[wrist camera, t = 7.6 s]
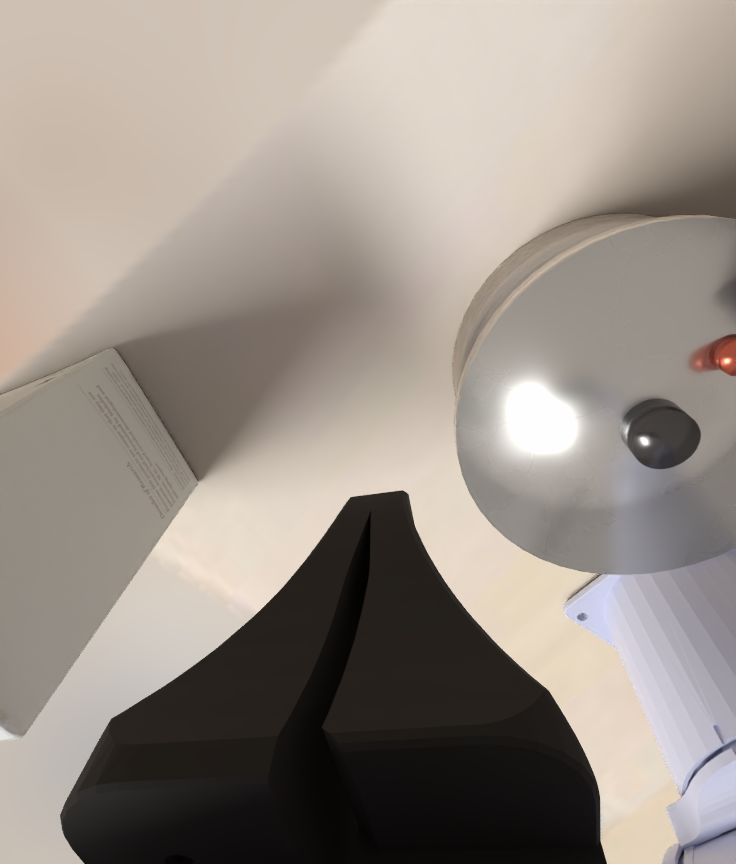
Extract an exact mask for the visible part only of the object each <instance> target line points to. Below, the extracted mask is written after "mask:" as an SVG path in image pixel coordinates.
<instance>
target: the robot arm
mask: <svg viewBox="0 0 736 864" xmlns="http://www.w3.org/2000/svg"><path fill="white" fill-rule="evenodd" d="M563 610H564V613H565V615H566V616H567V617H568V618H569V619H571V620H573V621H574V622H576V623H577V624H579V625H580V626H582V627H583V628H585V629H587V630H588V631H590V632H591V633H593V634H594V635H596V636H597V637H599V638H601V639H602V640H604V641H605V642H607V643H608V644H610V645H611V646H613V647H615V648H616V649H617V651H618V654H619V656H620V658H621V661H622V663H623V665H624V668H625V670H626V672H627V674H628V677H629V679H630V681H631V684H632V686H633V688H634V691H635V693H636V695H637V698H638V700H639V702H640V705H641V707H642V709H643V712H644V714H645V716H646V719H647V721H648V723H649V726H650V728H651V730H652V733H653V735H654V737H655V739H656V742H657V744H658V746H659V749H660V751H661V753H662V756H663V758H664V760H665V763H666V765H667V767H668V770H669V772H670V774H671V777H672V779H673V781H674V784H675V786H676V788H677V791H678V793H679V795H680V799H679V800H678V801H677V802H675V803H673V804H672V805H670V806H668V807H667V808H666V811H667V813H668V816H669V818H670V821H671V824H672V826H673V829H674V831H675V834H676V836H677V839H678V841H679V843H677V844H675V845H673V846H671V847H669V848H668V850H667V851H666V853H665V854H664V858H663V863H662V864H736V548H735V549H733V550H731V551H728V552H726V553H724V554H722V555H719V556H717V557H714V558H711V559H708V560H705V561H702V562H699V563H697V564H693V565H689V566H685V567H681V568H677V569H673V570H668V571H662V572H655V573H649V574H633V575H611V574H602V575H600V576H599V577H598V578H596V579H595V580H594V581H593V582H591V583H590V584H589V585H587V586H586V587H585V588H584V589H582V590H581V591H580V592H578V593H577V594H576V595H575V596H573V597H572V598H571V599H570V600H568V601H567V602H566V603H565V604H564V606H563ZM581 613H584V614H582V615H579V614H581ZM60 817H61V824H62V830H63V833H64V836H65V838H66V839H67V841H68V843H69V844H70V846H71V848H72V849H73V850H74V852H75V853H76V854H77V855H78V856H79V857H80V859H81V860H82V861H83V862H84V864H607V862H606V859H605V855H604V852H603V848H602V845H601V841H600V795H599V789H598V785H597V781H596V778H595V776H594V773H593V771H592V768H591V766H590V764H589V761H588V759H587V757H586V755H585V753H584V750H583V748H582V746H581V745H580V743H579V741H578V739H577V737H576V735H575V733H574V732H573V730H572V728H571V726H570V725H569V723H568V721H567V720H566V718H565V716H564V715H563V713H562V711H561V710H560V708H559V706H558V705H557V703H556V702H555V700H554V698H553V697H552V695H551V694H550V692H549V691H548V690H547V689H546V688H545V687H544V686H542V685H541V684H540V683H539V682H538V681H536V680H535V679H534V678H533V677H532V676H530V675H529V674H528V673H527V672H526V671H525V670H524V669H523V668H521V667H520V666H519V665H518V664H517V663H516V662H515V661H514V660H513V659H512V658H511V657H509V656H508V655H507V654H506V653H505V652H504V651H503V650H502V649H501V648H500V647H499V646H498V645H497V644H496V643H495V642H494V641H493V640H492V639H491V637H490V636H489V635H488V634H487V633H486V632H485V631H484V630H483V629H482V628H481V626H480V625H479V624H478V623H477V622H476V621H475V620H474V619H473V618H472V616H471V615H470V614H469V613H468V612H467V611H466V609H465V608H464V607H463V605H462V604H461V603H460V602H459V600H458V599H457V598H456V596H455V595H454V594H453V592H452V591H451V589H450V588H449V587H448V585H447V584H446V582H445V581H444V579H443V578H442V576H441V575H440V573H439V572H438V570H437V568H436V567H435V565H434V563H433V562H432V560H431V558H430V556H429V555H428V553H427V551H426V549H425V547H424V545H423V543H422V541H421V539H420V537H419V534H418V532H417V530H416V528H415V525H414V520H413V515H412V510H411V505H410V500H409V495H408V494H407V493H406V492H404V491H403V490H402V491H395V492H387V493H379V494H372V495H364V496H356V497H350V499H349V500H348V501H347V503H346V504H345V505H344V507H343V508H342V510H341V511H340V513H339V514H338V516H337V517H336V519H335V520H334V522H333V523H332V525H331V526H330V528H329V529H328V530H327V532H326V533H325V535H324V536H323V537H322V539H321V540H320V542H319V543H318V544H317V546H316V547H315V548H314V550H313V551H312V552H311V554H310V555H309V556H308V558H307V559H306V560H305V562H304V563H303V564H302V565H301V566H300V568H299V569H298V570H297V571H296V572H295V574H294V575H293V576H292V577H291V579H290V580H289V581H288V582H287V583H286V584H285V586H284V587H283V588H282V589H281V590H280V591H279V592H278V593H277V594H276V595H275V596H274V597H273V598H272V599H271V600H270V601H269V602H268V603H267V604H266V605H265V606H264V607H263V608H262V609H261V610H260V611H259V612H258V613H257V614H256V615H255V616H254V617H253V618H252V619H250V620H249V621H248V622H247V623H246V624H245V625H244V626H242V627H241V628H240V629H239V630H238V631H237V632H235V633H234V634H233V635H232V636H231V637H230V638H229V639H227V640H226V641H225V642H224V643H223V644H222V645H220V646H219V647H218V648H216V649H215V650H214V651H213V652H211V653H210V654H209V655H207V656H206V657H205V658H203V659H202V660H201V661H199V662H198V663H197V664H196V665H194V666H193V667H191V668H190V669H188V670H187V671H186V672H184V673H183V674H181V675H180V676H179V677H177V678H176V679H174V680H173V681H171V682H170V683H168V684H167V685H166V686H164V687H162V688H161V689H159V690H157V691H156V692H154V693H153V694H151V695H149V696H148V697H146V698H145V699H143V700H141V701H140V702H138V703H137V704H135V705H134V706H132V707H130V708H129V709H127V710H126V711H124V712H122V713H121V714H119V715H117V716H116V717H114V718H112V719H111V720H110V722H109V724H108V726H107V727H106V729H105V731H104V732H103V734H102V736H101V738H100V739H99V741H98V743H97V745H96V747H95V748H94V751H93V752H92V754H91V756H90V758H89V760H88V761H87V763H86V765H85V767H84V769H83V771H82V772H81V774H80V776H79V778H78V780H77V782H76V784H75V786H74V788H73V789H72V791H71V793H70V795H69V797H68V798H67V800H66V802H65V804H64V807H63V810H62V812H61V815H60Z"/></svg>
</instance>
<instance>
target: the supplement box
mask: <svg viewBox="0 0 736 864" xmlns="http://www.w3.org/2000/svg"><path fill="white" fill-rule="evenodd" d="M197 485H198V481H197V479H196V478H195V476H194V474H193V472H192V471H191V469H190V468H189V466H188V464H187V462H186V461H185V459H184V458H183V456H182V454H181V453H180V451H179V450H178V448H177V446H176V445H175V443H174V442H173V440H172V438H171V436H170V435H169V433H168V432H167V430H166V428H165V427H164V425H163V424H162V422H161V420H160V419H159V417H158V415H157V414H156V412H155V410H154V409H153V407H152V406H151V404H150V402H149V401H148V399H147V398H146V396H145V394H144V393H143V391H142V389H141V388H140V386H139V385H138V383H137V382H136V380H135V379H134V377H133V375H132V374H131V372H130V370H129V369H128V367H127V366H126V364H125V362H124V361H123V360H122V358H121V357H120V355H119V354H118V352H117V351H116V350H115V349H113V348H108V349H106V350H104V351H102V352H100V353H98V354H96V355H94V356H92V357H90V358H87V359H85V360H83V361H81V362H79V363H76V364H74V365H72V366H70V367H67V368H65V369H63V370H60V371H58V372H56V373H53V374H51V375H48V376H46V377H43V378H41V379H39V380H36V381H34V382H31V383H29V384H26V385H24V386H22V387H19V388H17V389H14V390H12V391H9V392H6V393H4V394H1V395H0V742H3V741H8V740H15V739H20V738H22V737H23V736H24V735H25V734H26V732H27V731H28V729H29V728H30V727H31V725H32V724H33V722H34V721H35V719H36V718H37V717H38V715H39V713H40V712H41V711H42V709H43V708H44V706H45V705H46V703H47V702H48V700H49V699H50V697H51V696H52V695H53V693H54V692H55V690H56V689H57V687H58V686H59V685H60V683H61V682H62V680H63V679H64V677H65V676H66V674H67V673H68V671H69V669H70V668H71V667H72V666H73V664H74V663H75V661H76V660H77V658H78V657H79V655H80V654H81V652H82V651H83V650H84V648H85V647H86V645H87V644H88V642H89V641H90V640H91V638H92V637H93V635H94V634H95V632H96V631H97V629H98V628H99V626H100V625H101V623H102V622H103V621H104V619H105V618H106V616H107V615H108V613H109V612H110V610H111V609H112V607H113V606H114V605H115V603H116V602H117V600H118V599H119V597H120V596H121V594H122V593H123V591H124V590H125V589H126V587H127V586H128V584H129V583H130V581H131V580H132V579H133V577H134V576H135V574H136V573H137V571H138V570H139V569H140V567H141V566H142V564H143V562H144V561H145V560H146V558H147V557H148V555H149V554H150V552H151V551H152V550H153V548H154V547H155V545H156V544H157V542H158V541H159V539H160V538H161V536H162V535H163V533H164V532H165V531H166V529H167V528H168V526H169V525H170V523H171V522H172V520H173V519H174V518H175V516H176V515H177V514H178V512H179V510H180V509H181V508H182V506H183V505H184V503H185V501H186V500H187V499H188V497H189V496H190V494H191V493H192V491H193V490H194V488H195V487H196V486H197Z"/></svg>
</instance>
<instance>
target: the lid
mask: <svg viewBox="0 0 736 864" xmlns="http://www.w3.org/2000/svg"><path fill="white" fill-rule="evenodd" d="M454 430H455V442H456V449H457V455H458V459H459V463H460V467H461V471H462V475H463V478H464V480H465V483H466V485H467V488H468V490H469V493H470V495H471V496H472V498H473V500H474V501H475V503H476V505H477V506H478V508H479V510H480V511H481V512H482V513H483V515H484V516H485V517H486V518H487V519H488V521H489V522H490V523H491V524H492V525H493V526H494V527H495V528H496V529H497V530H498V531H499V532H500V533H501V534H502V535H504V536H505V537H506V538H507V539H508V540H510V541H511V542H513V543H514V544H516V545H517V546H518V547H520V548H521V549H523V550H525V551H527V552H528V553H530V554H532V555H534V556H536V557H538V558H540V559H542V560H545V561H548V562H551V563H553V564H556V565H559V566H562V567H566V568H570V569H574V570H578V571H583V572H590V573H597V574H611V575H633V574H649V573H655V572H662V571H668V570H673V569H677V568H681V567H685V566H689V565H693V564H697V563H699V562H702V561H705V560H708V559H711V558H714V557H717V556H719V555H722V554H724V553H726V552H728V551H731V550H733V549H735V548H736V219H733V218H725V217H717V216H709V215H673V216H666V217H660V218H653V219H646V220H641V221H638V222H634V223H631V224H627V225H623V226H620V227H616V228H613V229H611V230H608V231H606V232H603V233H601V234H598V235H596V236H593V237H591V238H588V239H586V240H584V241H582V242H580V243H579V244H577V245H575V246H573V247H571V248H570V249H568V250H566V251H564V252H562V253H561V254H559V255H557V256H556V257H554V258H553V259H552V260H550V261H549V262H547V263H546V264H545V265H543V266H542V267H540V268H539V269H538V270H536V271H535V272H534V273H533V274H531V275H530V276H529V277H528V278H527V279H526V280H525V281H524V282H523V283H521V284H520V285H519V286H518V287H517V288H516V289H515V290H514V291H513V292H512V293H511V294H510V295H509V296H508V297H507V298H506V300H505V301H504V302H503V303H502V304H501V305H500V306H499V308H498V309H497V310H496V311H495V312H494V314H493V315H492V317H491V318H490V320H489V321H488V322H487V324H486V325H485V327H484V328H483V330H482V331H481V333H480V334H479V336H478V338H477V340H476V342H475V344H474V346H473V348H472V350H471V352H470V354H469V356H468V358H467V361H466V364H465V366H464V369H463V372H462V375H461V378H460V381H459V386H458V391H457V396H456V400H455V414H454Z"/></svg>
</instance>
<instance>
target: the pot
mask: <svg viewBox="0 0 736 864" xmlns="http://www.w3.org/2000/svg"><path fill="white" fill-rule="evenodd" d="M653 218H658V217H653V216H648V215H642V214H626V213H616V214H605V215H596V216H592V217H588V218H583V219H579V220H575V221H572V222H569V223H567V224H564V225H561V226H559V227H556V228H554V229H552V230H550V231H548V232H546V233H544V234H542V235H540V236H538V237H536V238H534V239H533V240H531V241H530V242H528V243H527V244H525V245H524V246H522V247H521V248H519V249H518V250H517V251H515V252H514V253H513V254H512V255H511V256H510V257H508V258H507V259H506V260H505V261H504V262H503V263H501V264H500V266H499V267H498V268H497V269H496V270H495V271H494V272H493V273H492V274H491V275H490V276H489V277H488V279H487V280H486V281H485V283H484V284H483V285H482V287H481V288H480V290H479V291H478V292H477V294H476V295H475V297H474V299H473V300H472V302H471V304H470V306H469V308H468V309H467V311H466V313H465V316H464V318H463V321H462V323H461V326H460V328H459V331H458V335H457V339H456V343H455V347H454V356H453V384H454V390H455V396H457V391H458V386H459V381H460V378H461V375H462V372H463V369H464V366H465V364H466V361H467V358H468V356H469V354H470V352H471V350H472V348H473V346H474V344H475V342H476V340H477V338H478V336H479V334H480V333H481V331H482V330H483V328H484V327H485V325H486V324H487V322H488V321H489V320H490V318H491V317H492V315H493V314H494V312H495V311H496V310H497V309H498V308H499V306H500V305H501V304H502V303H503V302H504V301H505V300H506V298H507V297H508V296H509V295H510V294H511V293H512V292H513V291H514V290H515V289H516V288H517V287H518V286H519V285H520V284H521V283H523V282H524V281H525V280H526V279H527V278H528V277H529V276H530V275H531V274H533V273H534V272H535V271H536V270H538V269H539V268H540V267H542V266H543V265H545V264H546V263H547V262H549V261H550V260H552V259H553V258H554V257H556V256H557V255H559V254H561V253H562V252H564V251H566V250H568V249H570V248H571V247H573V246H575V245H577V244H579V243H580V242H582V241H584V240H586V239H588V238H591V237H593V236H596V235H598V234H601V233H603V232H606V231H608V230H611V229H613V228H616V227H620V226H623V225H627V224H631V223H634V222H638V221H641V220H646V219H653Z"/></svg>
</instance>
